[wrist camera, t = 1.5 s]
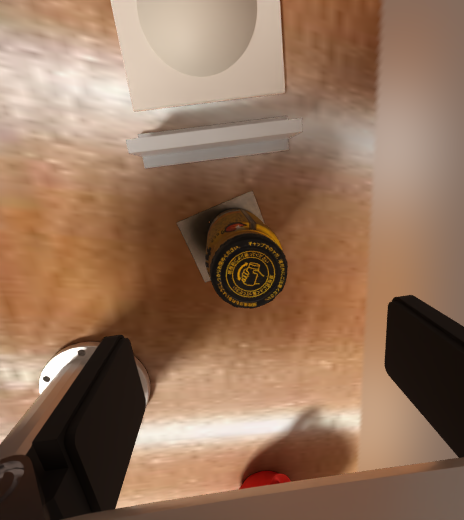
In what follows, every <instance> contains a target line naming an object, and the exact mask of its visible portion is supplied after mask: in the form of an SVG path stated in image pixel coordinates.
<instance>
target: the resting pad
mask: <svg viewBox="0 0 464 520" xmlns="http://www.w3.org/2000/svg"><path fill="white" fill-rule="evenodd" d="M111 5H112V10H113V15H114V19H115V24H116V29H117V34H118V39H119V44H120V48H121V53H122V58H123V63H124V68H125V73H126V77H127V82H128V87H129V92H130V97H131V102H132V106H133V111H134V112H138V111H146V110H154V109H162V108H170V107H178V106H186V105H195V104H203V103H211V102H219V101H227V100H235V99H243V98H252V97H260V96H268V95H276V94H284V93H285V80H284V63H283V45H282V28H281V11H280V0H111Z"/></svg>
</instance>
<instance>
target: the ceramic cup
mask: <svg viewBox="0 0 464 520" xmlns="http://www.w3.org/2000/svg"><path fill="white" fill-rule="evenodd" d="M286 482H291V481H290V479H289V477H288V476H286V475H285V474H278V473H276V472H273V471H261V472H257V473H254V474H252V475H250V476H249V477H248V478H247V479H246V480H245V481H244V483H243V485H242V486H241V487H240V489H245V488H252V487H259V486H265V485H272V484H279V483H286Z"/></svg>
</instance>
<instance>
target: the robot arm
mask: <svg viewBox="0 0 464 520" xmlns="http://www.w3.org/2000/svg"><path fill="white" fill-rule="evenodd" d="M385 369H386V371H387V373H388V375H389V376H390V377H391V379H392V380H393V381H394V382H395V383H396V384H397V386H398V387H399V388H400V389H401V390H402V391H403V392H404V394H405V395H406V396H407V397H408V398H409V400H410V401H411V402H412V403H413V404H414V406H415V407H416V408H417V409H418V410H419V411H420V413H421V414H422V415H423V416H424V417H425V418H426V419H427V421H428V422H429V423H430V424H431V425H432V427H433V428H434V429H435V430H436V431H437V432H438V434H439V435H440V436H441V437H442V438H443V440H444V441H445V442H446V443H447V444H448V445H449V447H450V448H451V449H452V450H453V451H454V452H455V454H456V455H457V456H458V457H459V458H454V459H447V460H440V461H433V462H426V463H419V464H412V465H404V466H397V467H390V468H383V469H375V470H369V471H362V472H355V473H348V474H341V475H334V476H327V477H320V478H313V479H306V480H300V481H293V482H286V483H279V484H272V485H265V486H259V487H252V488H245V489H239V490H232V491H226V492H219V493H212V494H206V495H199V496H193V497H186V498H180V499H173V500H166V501H160V502H153V503H148V504H142V505H136V506H130V507H124V508H118V509H115V508H116V504H117V501H118V498H119V494H120V491H121V488H122V484H123V481H124V478H125V475H126V471H127V468H128V465H129V461H130V458H131V455H132V451H133V448H134V445H135V442H136V438H137V435H138V432H139V428H140V425H141V422H142V418H143V415H144V412H145V408H146V406H147V403H148V400H149V396H150V391H151V390H150V380H149V376H148V374H147V372H146V370H145V368H144V366H143V365H142V364H141V363H140V361H139V360H138V359H137V358H136V357H134V354H133V351H132V347H131V343H130V340H129V339H128V338H124V336H123V335H115V336H108V337H104V338H103V340H102V341H101V342H81V343H77V344H74V345H70V346H68V347H66V348H64V349H62V350H61V351H59V352H58V353H57V354H55V355H54V356H53V357H52V358H51V360H50V361H49V362H48V363H47V364H46V366H45V367H44V369H43V370H42V373H41V375H40V379H39V391H40V395H39V397H38V398H37V399H36V400H35V402H34V403H33V404H32V405H31V407H30V408H29V409H28V410H27V412H26V413H25V414H24V415H23V417H22V418H21V419H20V420H19V422H18V423H17V424H16V425H15V427H14V428H13V429H12V430H11V432H10V433H9V434H8V435H7V437H6V438H5V439H4V440H3V442H2V443H1V444H0V520H464V327H463V326H462V325H460V324H459V323H457V322H455V321H454V320H452V319H450V318H449V317H447V316H446V315H444V314H442V313H441V312H439V311H438V310H436V309H434V308H433V307H431V306H429V305H428V304H426V303H425V302H423V301H421V300H420V299H418V298H416V297H415V296H413V295H408V296H401V297H395V298H393V300H392V302H390V303H389V305H388V314H387V331H386V350H385Z"/></svg>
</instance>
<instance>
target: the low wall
mask: <svg viewBox="0 0 464 520" xmlns="http://www.w3.org/2000/svg"><path fill="white" fill-rule="evenodd" d="M301 132H303V126H302V118H296V119H288V120H287V116H281V117H273V118H265V119H257V120H249V121H241V122H233V123H225V124H217V125H209V126H201V127H193V128H185V129H177V130H169V131H161V132H153V133H145V134H138V138H136V139H128V140H126V144H127V148H128V153H129V154H133V155H136V156H140V157H143V162H144V167H145V168H146V169H147V168H154V167H162V166H170V165H178V164H186V163H193V162H201V161H209V160H217V159H225V158H233V157H240V156H248V155H256V154H264V153H272V152H279V151H287V150H289V138H291V137H293V136H295V135H297V134H299V133H301Z"/></svg>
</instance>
